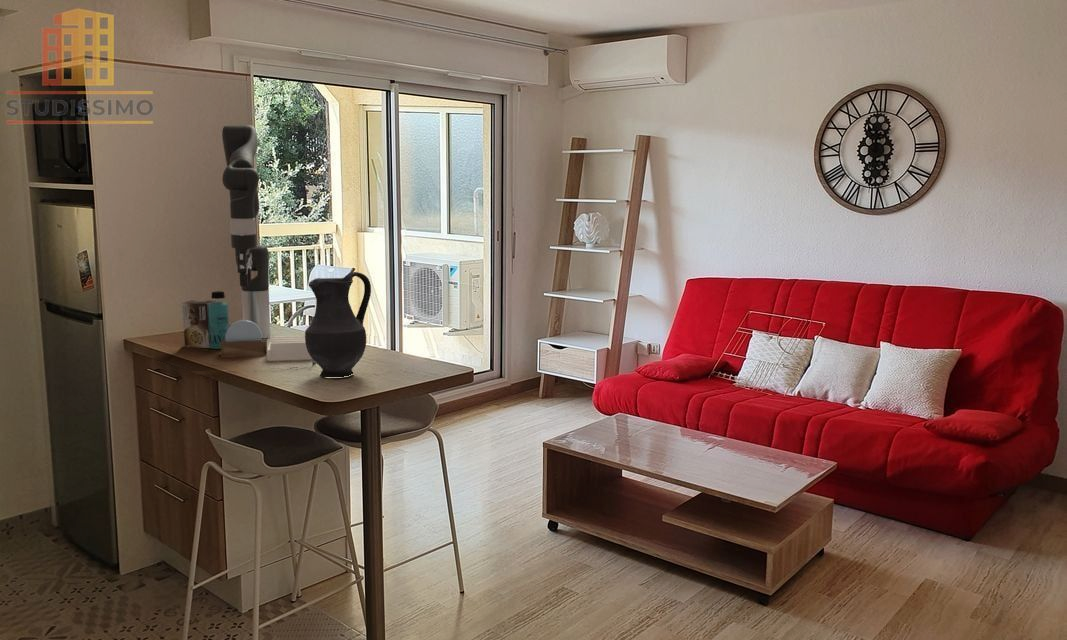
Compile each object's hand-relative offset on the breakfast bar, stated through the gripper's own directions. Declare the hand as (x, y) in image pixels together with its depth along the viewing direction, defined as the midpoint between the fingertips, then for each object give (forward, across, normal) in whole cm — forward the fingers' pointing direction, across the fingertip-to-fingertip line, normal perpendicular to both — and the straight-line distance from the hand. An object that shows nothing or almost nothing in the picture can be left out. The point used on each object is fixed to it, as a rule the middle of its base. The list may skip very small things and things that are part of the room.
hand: (245, 284), depth 263 cm
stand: (+24, 0, -1) cm, 24 cm away
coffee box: (+24, -16, -17) cm, 34 cm away
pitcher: (+24, +28, +30) cm, 47 cm away
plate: (+23, 0, -1) cm, 23 cm away
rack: (+24, +5, +14) cm, 28 cm away
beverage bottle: (+24, -11, -11) cm, 29 cm away
